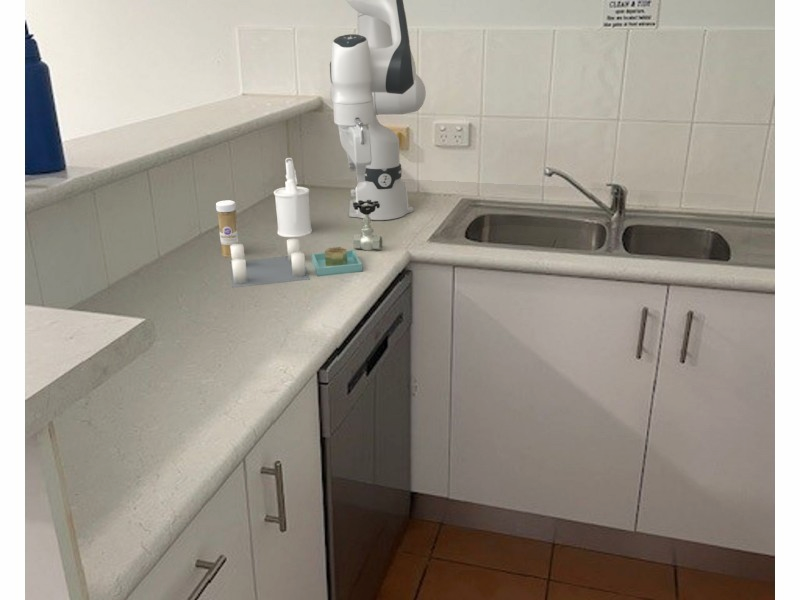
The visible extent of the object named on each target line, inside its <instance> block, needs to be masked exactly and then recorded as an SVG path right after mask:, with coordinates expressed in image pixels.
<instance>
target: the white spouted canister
mask: <svg viewBox="0 0 800 600" xmlns="http://www.w3.org/2000/svg"><path fill="white" fill-rule="evenodd" d="M284 163H285V171H286V174H285V175H284V176H285V179H286V180H285V182H284V183H285V186H284V187H280V188H277V189H275V190H274V191H273V195H274V197H275V198H274V199H275V201H274V202H275V209H276V218H277V219H276V220H277V221H276V222H277V232H276V233H277V235H278V236H279V237H283V238H284V237H285V238H299V237H300V238H301V237H304V236H305V237H306V236H308V235H310V234H312V233H313V228H312V226H311V225H312V223H311V213H310V212H311V210H310V195H309V194H310V189H309V188H308V187H305V186H297V185H298V184H299V182H298V179H297V178H298V175H297V174H296V173H297V171H296V169H295V167H294V166H295V165H294V160H293V158H292V157H286V158H285V162H284Z"/></svg>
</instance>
